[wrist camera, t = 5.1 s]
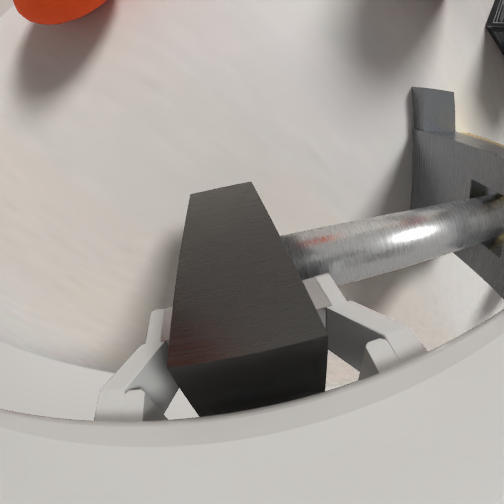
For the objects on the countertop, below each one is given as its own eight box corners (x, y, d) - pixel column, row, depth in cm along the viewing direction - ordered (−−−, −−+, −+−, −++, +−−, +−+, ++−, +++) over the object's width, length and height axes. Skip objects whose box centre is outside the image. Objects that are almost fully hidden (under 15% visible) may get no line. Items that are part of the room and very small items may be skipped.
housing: (405, 252, 22) (488, 340, 12) (410, 86, 15) (546, 110, 5) (437, 243, 22) (518, 319, 13) (445, 91, 15) (566, 120, 5)
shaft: (212, 278, 16) (227, 452, 7) (190, 194, 13) (166, 367, 5) (467, 219, 17) (559, 293, 8) (474, 156, 14) (586, 216, 6)
